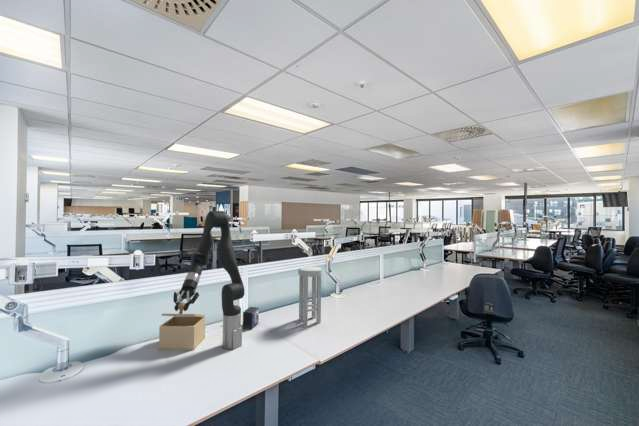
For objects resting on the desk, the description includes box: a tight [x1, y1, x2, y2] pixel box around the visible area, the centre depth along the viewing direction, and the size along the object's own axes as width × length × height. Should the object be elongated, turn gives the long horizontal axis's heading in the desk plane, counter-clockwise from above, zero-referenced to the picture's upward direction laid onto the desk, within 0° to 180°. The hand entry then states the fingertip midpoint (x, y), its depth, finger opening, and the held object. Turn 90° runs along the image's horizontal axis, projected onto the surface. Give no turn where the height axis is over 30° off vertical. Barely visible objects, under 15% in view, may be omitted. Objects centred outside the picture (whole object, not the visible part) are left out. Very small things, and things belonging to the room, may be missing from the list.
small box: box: [242, 306, 260, 330], centre depth 175 cm, size 11×6×10 cm, turn 168°
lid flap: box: [161, 301, 206, 318], centre depth 152 cm, size 14×17×7 cm
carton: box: [158, 316, 206, 351], centre depth 150 cm, size 14×18×12 cm
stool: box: [297, 266, 323, 326], centre depth 185 cm, size 16×16×35 cm
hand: (180, 310), depth 147 cm, fingers closed on lid flap, 4 cm apart
